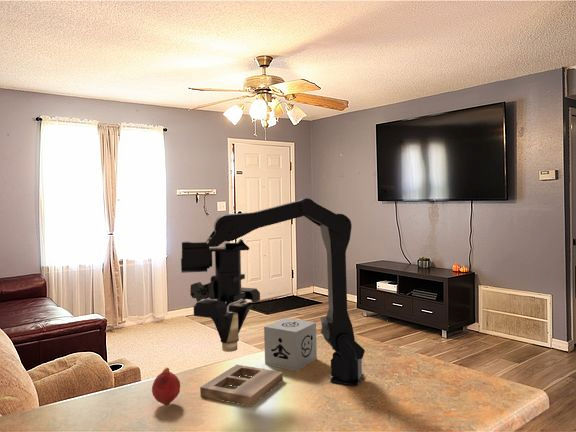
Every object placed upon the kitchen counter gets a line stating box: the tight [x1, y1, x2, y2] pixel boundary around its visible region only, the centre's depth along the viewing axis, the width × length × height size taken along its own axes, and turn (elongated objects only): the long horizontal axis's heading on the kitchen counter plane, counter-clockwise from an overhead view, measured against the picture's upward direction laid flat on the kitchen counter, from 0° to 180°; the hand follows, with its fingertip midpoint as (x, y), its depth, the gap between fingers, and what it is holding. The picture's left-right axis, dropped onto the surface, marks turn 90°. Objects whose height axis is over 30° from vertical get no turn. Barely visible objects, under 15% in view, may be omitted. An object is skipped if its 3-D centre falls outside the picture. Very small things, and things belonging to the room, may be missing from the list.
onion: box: [151, 367, 181, 406], centre depth 98 cm, size 6×6×8 cm
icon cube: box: [263, 317, 318, 372], centre depth 123 cm, size 10×10×10 cm
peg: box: [220, 312, 240, 353], centre depth 103 cm, size 4×4×8 cm
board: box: [200, 364, 284, 407], centre depth 106 cm, size 13×15×2 cm
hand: (229, 339), depth 103 cm, fingers closed on peg, 4 cm apart
